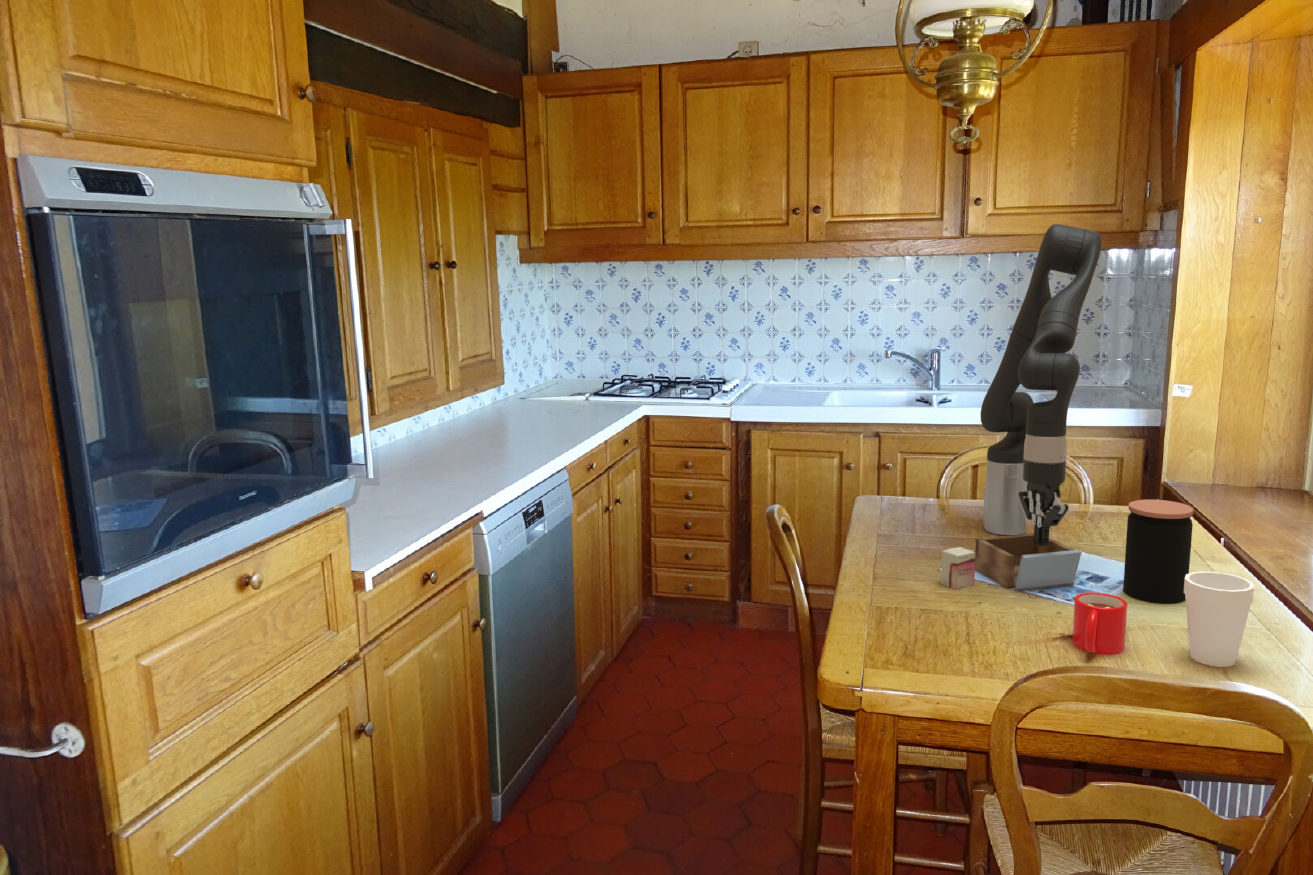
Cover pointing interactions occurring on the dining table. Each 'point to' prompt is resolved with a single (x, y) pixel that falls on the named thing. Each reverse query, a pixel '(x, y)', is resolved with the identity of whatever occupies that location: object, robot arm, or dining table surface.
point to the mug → (1099, 623)
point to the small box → (957, 568)
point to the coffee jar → (1157, 551)
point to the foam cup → (1216, 615)
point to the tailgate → (1047, 570)
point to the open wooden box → (1008, 556)
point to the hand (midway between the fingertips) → (1040, 544)
